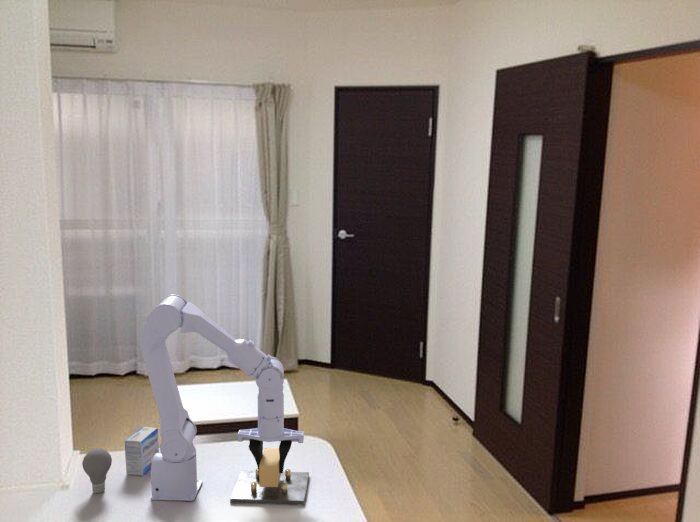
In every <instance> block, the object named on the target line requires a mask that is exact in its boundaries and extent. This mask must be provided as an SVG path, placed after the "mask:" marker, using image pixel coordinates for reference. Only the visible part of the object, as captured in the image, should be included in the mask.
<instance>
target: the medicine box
mask: <svg viewBox="0 0 700 522" xmlns="http://www.w3.org/2000/svg"><path fill="white" fill-rule="evenodd" d="M159 443H160V442H159V429H158V428H157V427H151V426H141V427H139V429H138V430H136V431H135V432H134V433H133V434H131V436H129V437H127V438H126V439H125V440H124V455H125V457H124V458H125V470H126V475H129V476H130V475H131V476H140V477H144V476H145V475H146V474H147V473H149V471H151V464H152V460H153V457H154V455H155V454H156V453H159V452H160V446H159V445H160V444H159Z"/></svg>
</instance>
